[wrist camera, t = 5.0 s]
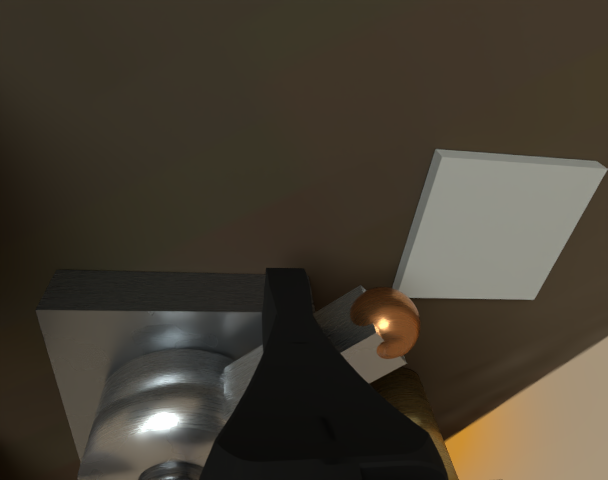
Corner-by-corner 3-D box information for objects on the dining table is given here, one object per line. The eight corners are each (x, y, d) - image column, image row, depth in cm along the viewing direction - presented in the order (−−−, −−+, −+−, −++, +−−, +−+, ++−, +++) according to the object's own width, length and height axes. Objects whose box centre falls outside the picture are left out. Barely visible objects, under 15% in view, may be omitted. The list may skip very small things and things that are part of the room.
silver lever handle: (184, 461, 20) (175, 555, 17) (65, 402, 16) (28, 507, 14) (439, 321, 16) (483, 409, 13) (350, 213, 13) (382, 298, 10)
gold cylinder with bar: (441, 404, 23) (498, 541, 18) (321, 407, 22) (345, 554, 17) (460, 366, 22) (528, 506, 17) (331, 368, 21) (361, 518, 16)
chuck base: (284, 414, 22) (288, 453, 21) (92, 419, 21) (80, 462, 19) (308, 275, 17) (315, 312, 16) (56, 269, 16) (35, 310, 14)
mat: (526, 289, 19) (533, 299, 19) (392, 287, 18) (396, 297, 18) (596, 161, 16) (607, 168, 15) (435, 149, 15) (442, 156, 14)
